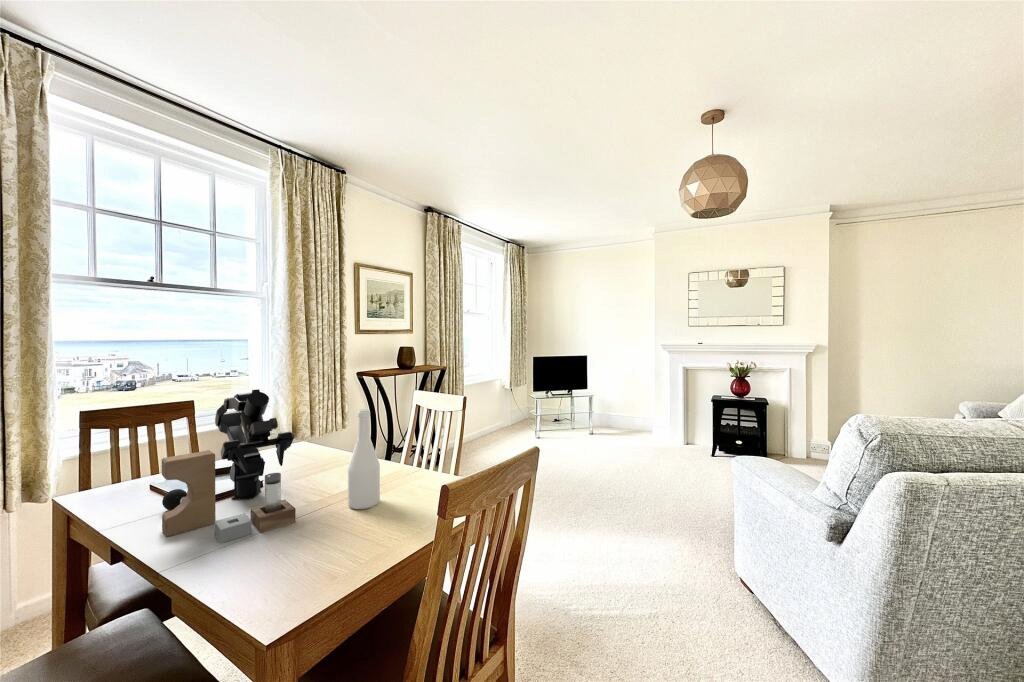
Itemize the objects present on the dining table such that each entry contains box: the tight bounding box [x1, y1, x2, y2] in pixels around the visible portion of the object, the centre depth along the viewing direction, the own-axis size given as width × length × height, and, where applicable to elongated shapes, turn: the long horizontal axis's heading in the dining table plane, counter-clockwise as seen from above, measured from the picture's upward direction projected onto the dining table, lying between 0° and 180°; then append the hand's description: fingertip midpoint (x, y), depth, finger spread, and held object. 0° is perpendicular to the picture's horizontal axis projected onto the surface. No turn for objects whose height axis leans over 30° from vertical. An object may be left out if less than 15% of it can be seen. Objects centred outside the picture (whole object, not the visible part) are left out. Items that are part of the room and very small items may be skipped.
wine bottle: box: [347, 408, 381, 510], centre depth 132 cm, size 10×10×30 cm
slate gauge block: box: [213, 512, 253, 544], centre depth 112 cm, size 7×7×4 cm
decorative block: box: [161, 449, 217, 538], centre depth 115 cm, size 11×6×20 cm, turn 137°
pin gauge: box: [264, 472, 282, 514], centre depth 119 cm, size 4×4×13 cm
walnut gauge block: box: [250, 498, 297, 534], centre depth 119 cm, size 9×9×4 cm
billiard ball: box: [161, 488, 187, 511], centre depth 127 cm, size 6×6×6 cm
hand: (264, 468), depth 124 cm, fingers open, 9 cm apart
